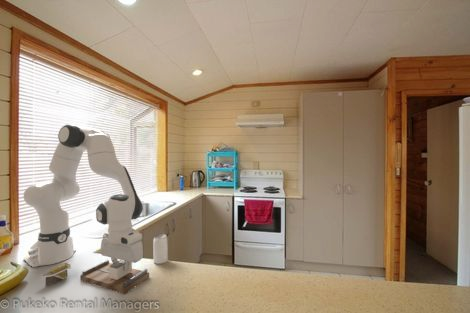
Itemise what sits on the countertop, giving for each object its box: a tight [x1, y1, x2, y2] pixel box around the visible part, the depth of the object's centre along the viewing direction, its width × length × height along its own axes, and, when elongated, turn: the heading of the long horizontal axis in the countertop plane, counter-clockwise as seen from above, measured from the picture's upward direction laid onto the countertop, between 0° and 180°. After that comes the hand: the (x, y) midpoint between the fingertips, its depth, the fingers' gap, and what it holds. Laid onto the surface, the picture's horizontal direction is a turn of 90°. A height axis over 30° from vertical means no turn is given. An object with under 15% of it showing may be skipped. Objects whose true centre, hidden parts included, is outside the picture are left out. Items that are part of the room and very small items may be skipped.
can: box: [152, 233, 169, 265], centre depth 105 cm, size 6×6×12 cm
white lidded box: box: [110, 259, 133, 280], centre depth 89 cm, size 4×7×5 cm, turn 157°
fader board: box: [80, 259, 150, 295], centre depth 90 cm, size 25×12×4 cm, turn 67°
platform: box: [41, 262, 72, 287], centre depth 89 cm, size 12×18×7 cm, turn 159°
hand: (121, 268), depth 89 cm, fingers closed on white lidded box, 4 cm apart
